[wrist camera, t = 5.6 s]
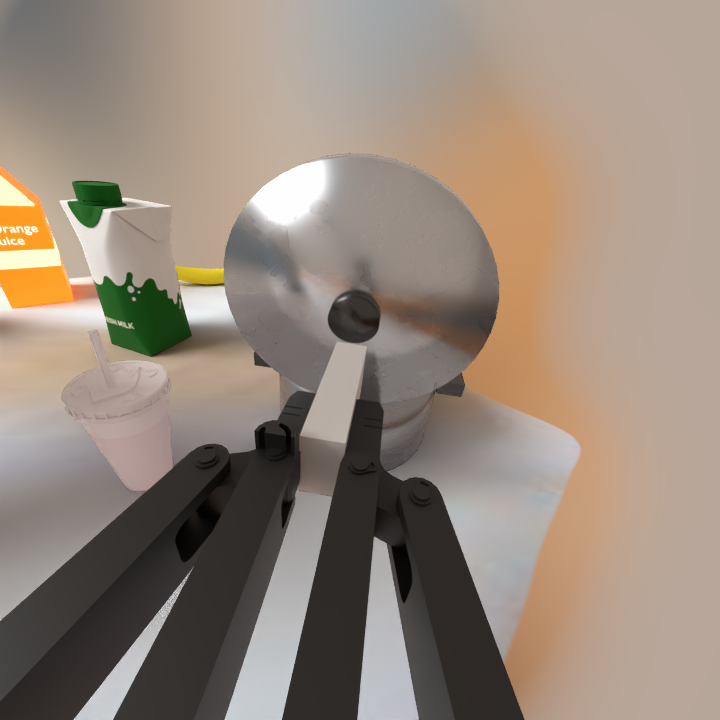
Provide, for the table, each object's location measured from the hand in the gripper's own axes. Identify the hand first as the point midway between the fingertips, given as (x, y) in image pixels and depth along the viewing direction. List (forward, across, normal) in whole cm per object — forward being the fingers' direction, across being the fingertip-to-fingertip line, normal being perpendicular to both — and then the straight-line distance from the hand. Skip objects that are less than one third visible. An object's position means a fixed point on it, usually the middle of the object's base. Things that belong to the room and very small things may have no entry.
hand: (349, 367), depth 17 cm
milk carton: (+24, -31, -16) cm, 42 cm away
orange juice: (+33, -56, -16) cm, 67 cm away
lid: (+5, 0, +1) cm, 5 cm away
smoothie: (+3, -17, -16) cm, 23 cm away
